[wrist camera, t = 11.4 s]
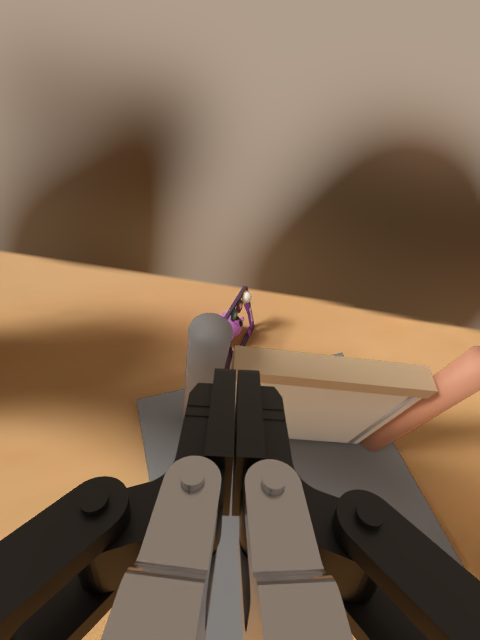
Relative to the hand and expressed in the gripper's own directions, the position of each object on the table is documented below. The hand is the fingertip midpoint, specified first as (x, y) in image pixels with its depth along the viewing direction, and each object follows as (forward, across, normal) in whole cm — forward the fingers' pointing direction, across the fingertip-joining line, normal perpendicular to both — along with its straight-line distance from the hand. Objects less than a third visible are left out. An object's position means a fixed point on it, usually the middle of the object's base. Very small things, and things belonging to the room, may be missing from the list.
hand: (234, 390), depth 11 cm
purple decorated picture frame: (+24, +1, +14) cm, 28 cm away
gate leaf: (+15, -6, +17) cm, 23 cm away
